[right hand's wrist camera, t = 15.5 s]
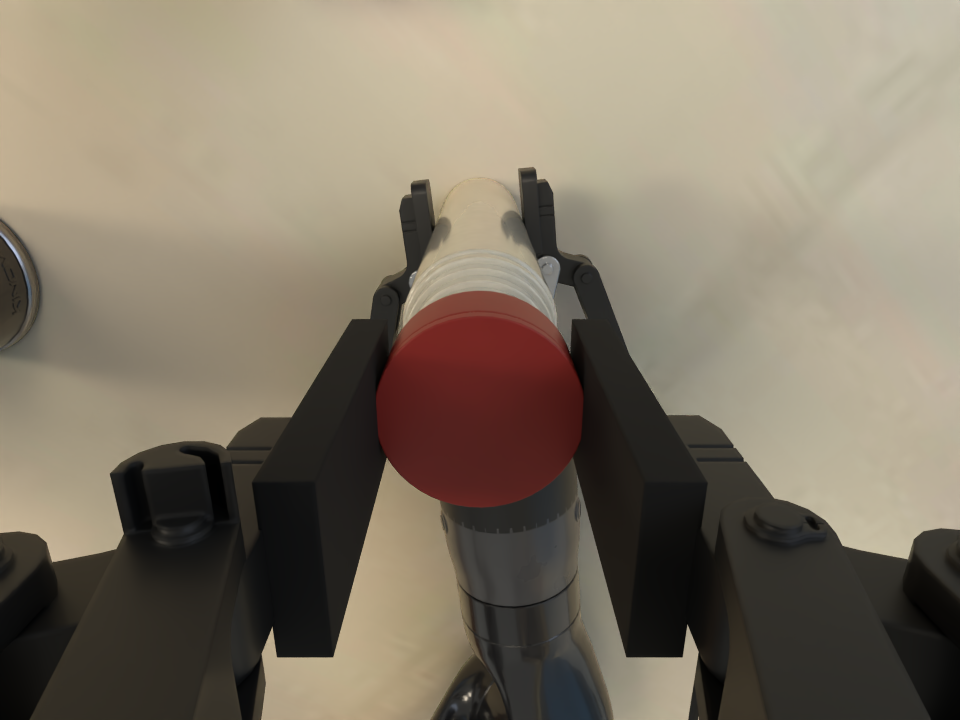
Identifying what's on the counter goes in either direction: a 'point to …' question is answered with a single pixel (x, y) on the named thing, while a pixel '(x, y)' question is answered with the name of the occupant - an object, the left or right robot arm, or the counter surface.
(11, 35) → the counter surface
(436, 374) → the cap
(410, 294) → the bottle
